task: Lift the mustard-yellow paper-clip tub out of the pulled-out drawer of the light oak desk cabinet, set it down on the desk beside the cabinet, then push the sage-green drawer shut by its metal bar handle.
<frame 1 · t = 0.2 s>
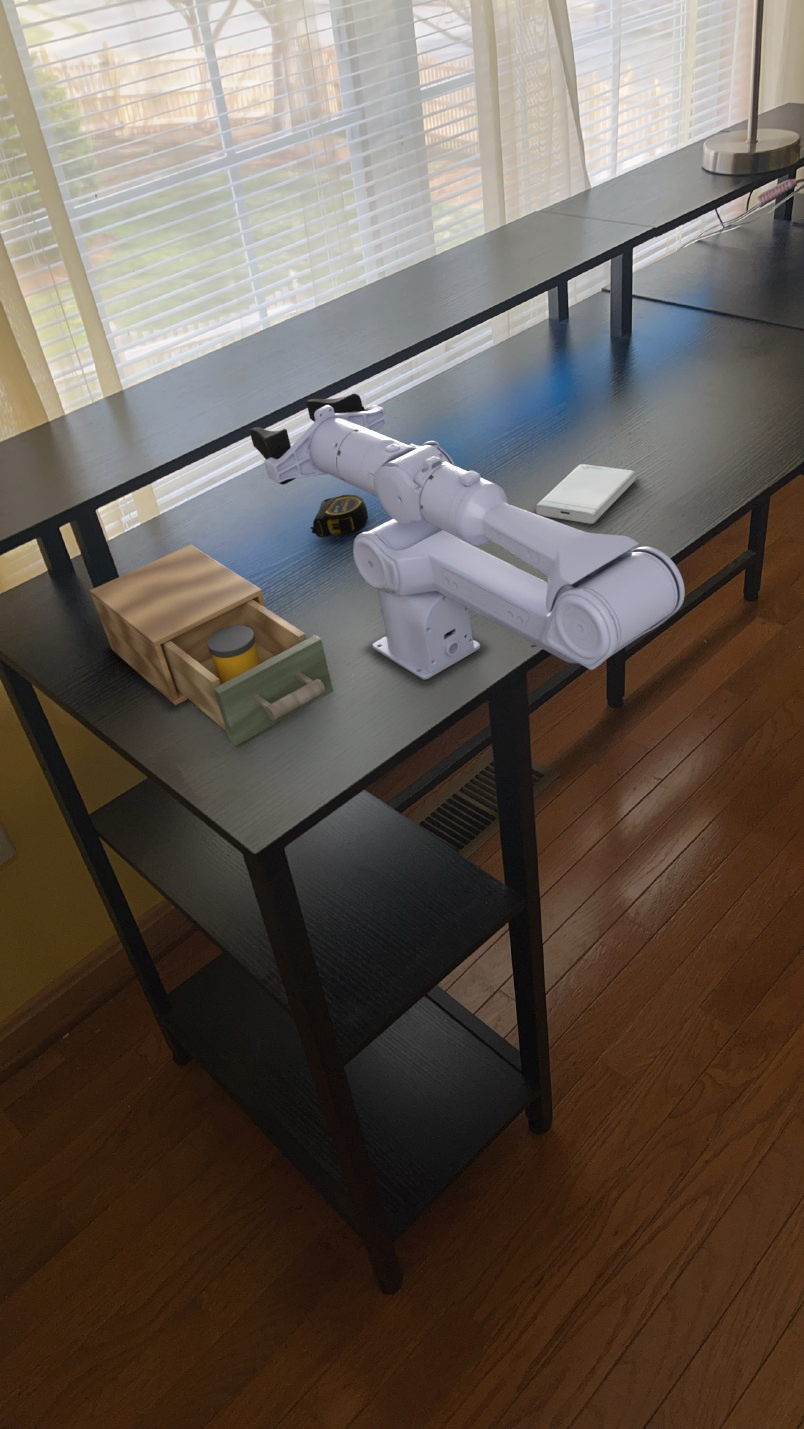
hand: (282, 422, 113), 21 cm above the table, tool horizontal, fingers open, 7 cm apart
cabinet: (193, 650, 119), on the table
tape measure: (339, 532, 138), on the table
clip tub: (242, 678, 110), point 2 cm above the table, touching drawer
drawer: (250, 671, 106), point 4 cm above the table, slide at 11.0 cm, touching clip tub
hard drive: (586, 499, 135), on the table
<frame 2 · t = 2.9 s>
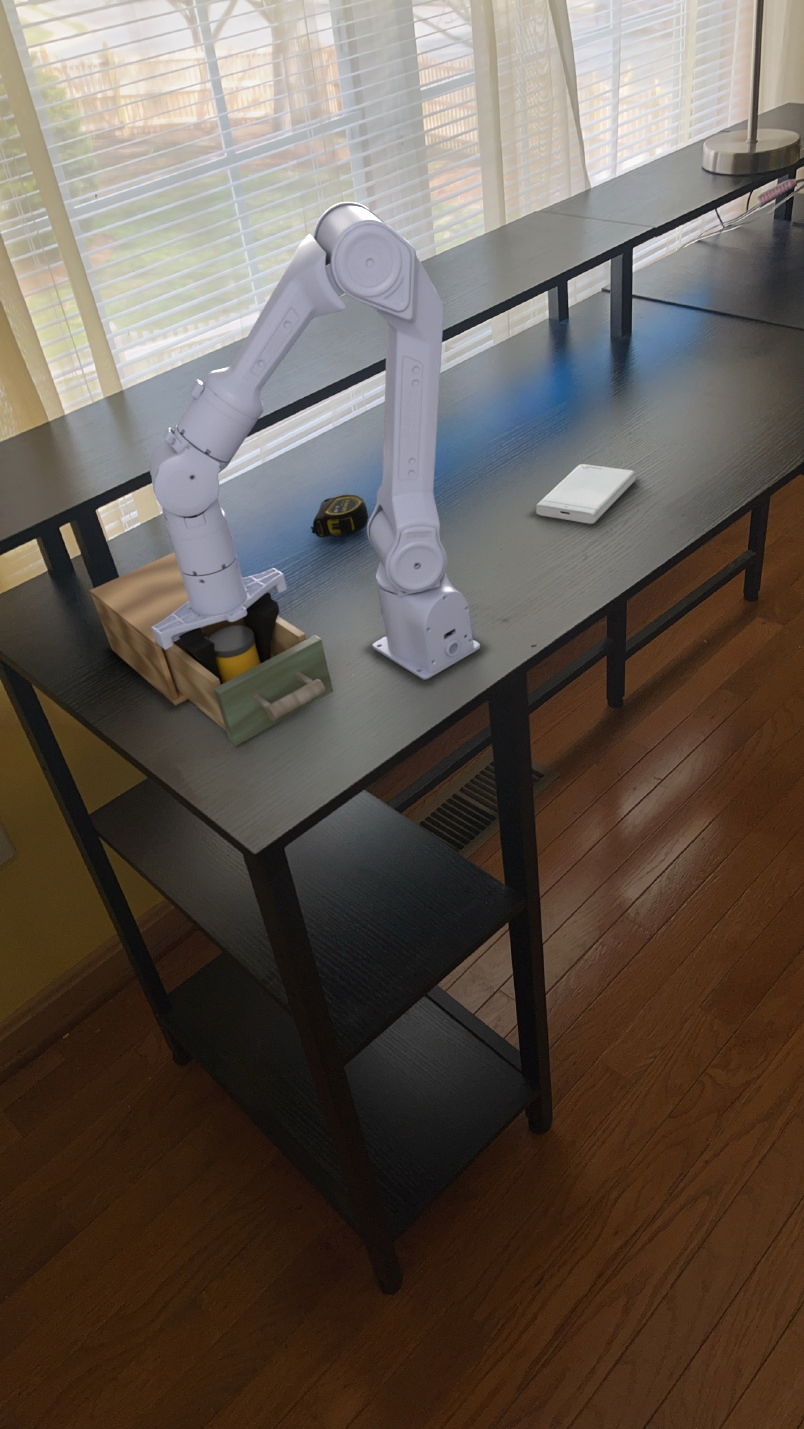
hand: (240, 673, 109), 2 cm above the table, tool pointing down, fingers closed on drawer, 5 cm apart
drawer: (250, 671, 106), point 4 cm above the table, slide at 11.0 cm, touching clip tub, gripper
everything else where it was.
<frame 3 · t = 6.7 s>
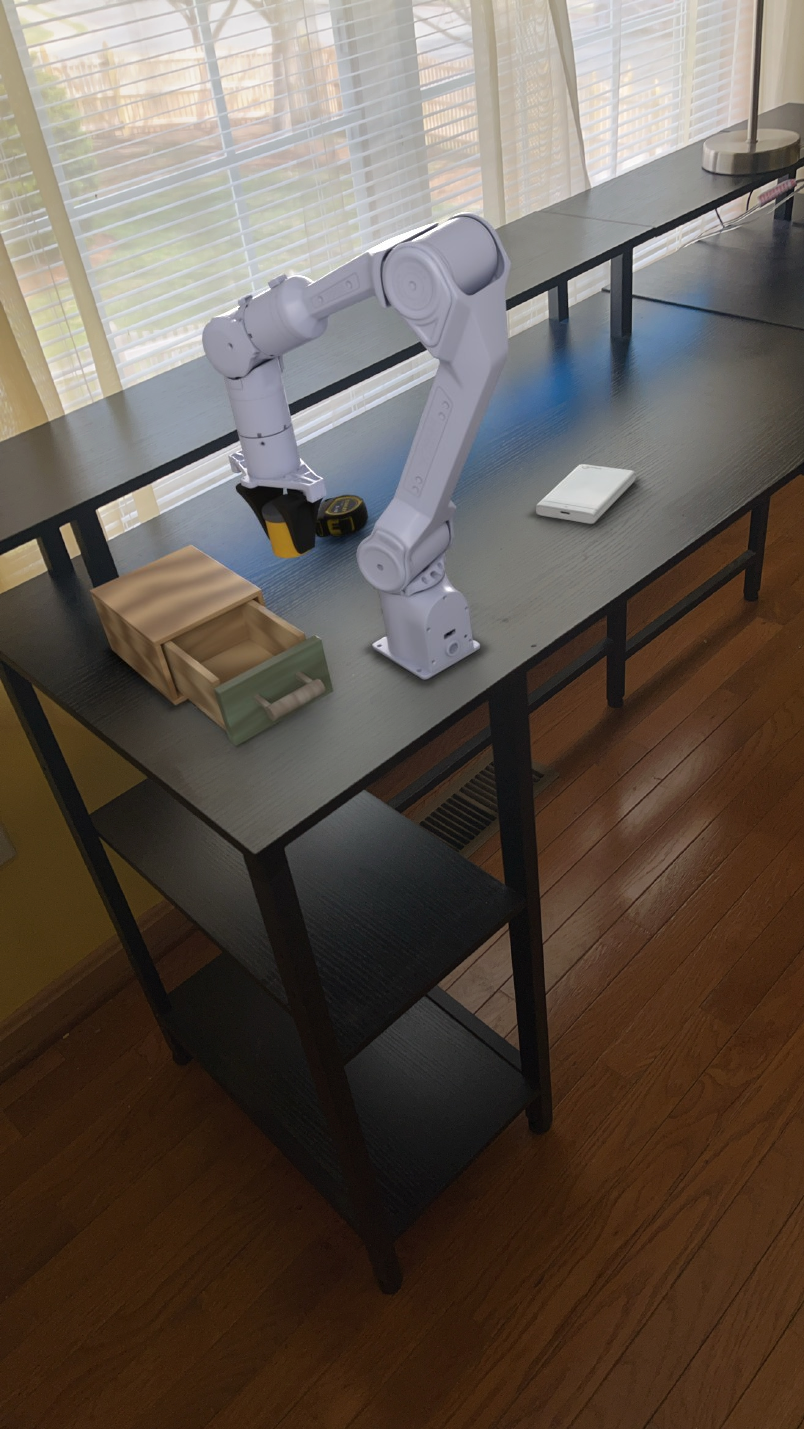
hand: (291, 543, 115), 10 cm above the table, tool pointing down, fingers closed on clip tub, 5 cm apart
clip tub: (293, 548, 115), point 9 cm above the table, touching gripper
drawer: (250, 671, 106), point 4 cm above the table, slide at 11.0 cm
everything else where it was.
when the fingers open (1 cm above the table, at t = 10.0 s): clip tub stays where it is, on the table.
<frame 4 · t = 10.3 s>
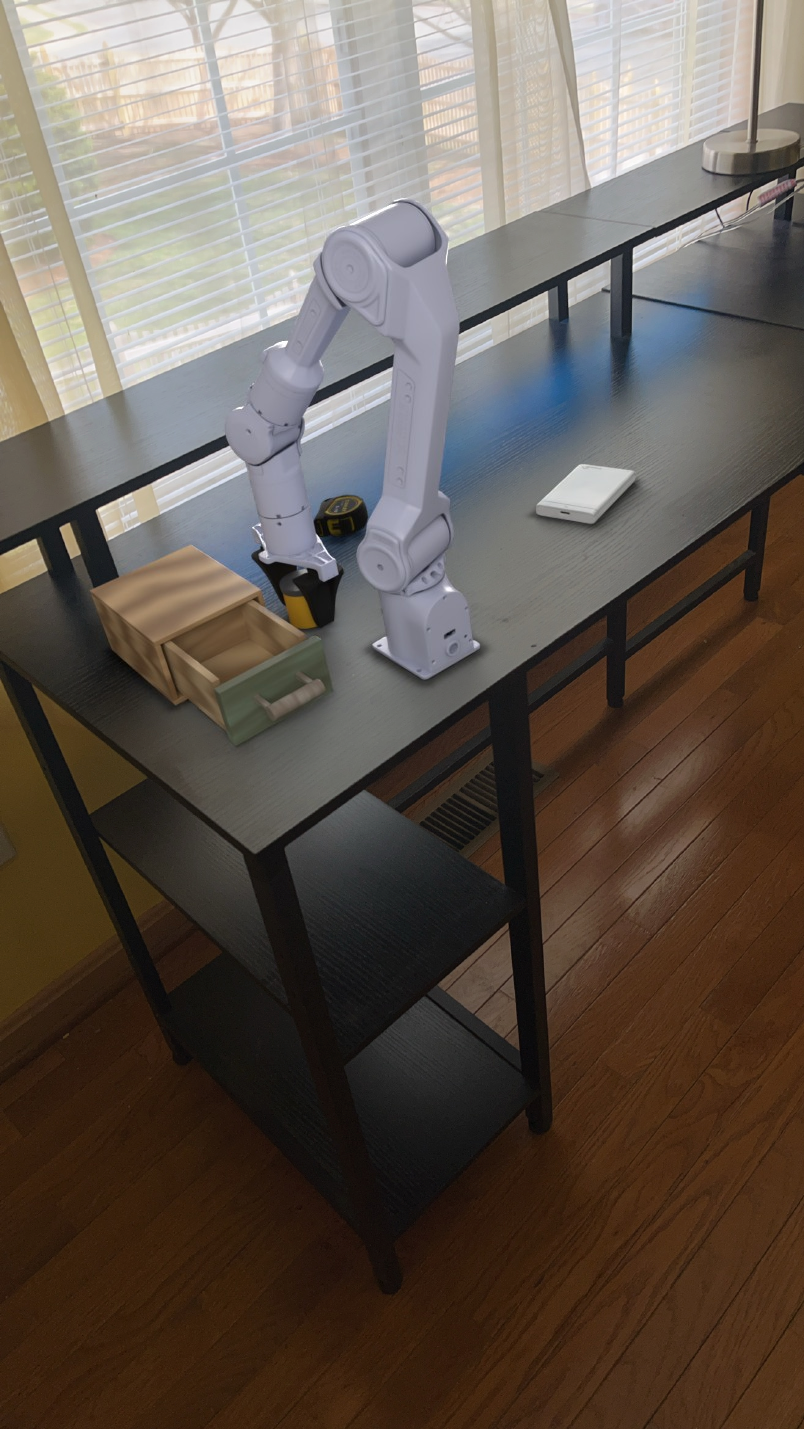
hand: (307, 612, 120), 1 cm above the table, tool pointing down, fingers open, 7 cm apart
clip tub: (309, 618, 121), on the table
everything else where it was.
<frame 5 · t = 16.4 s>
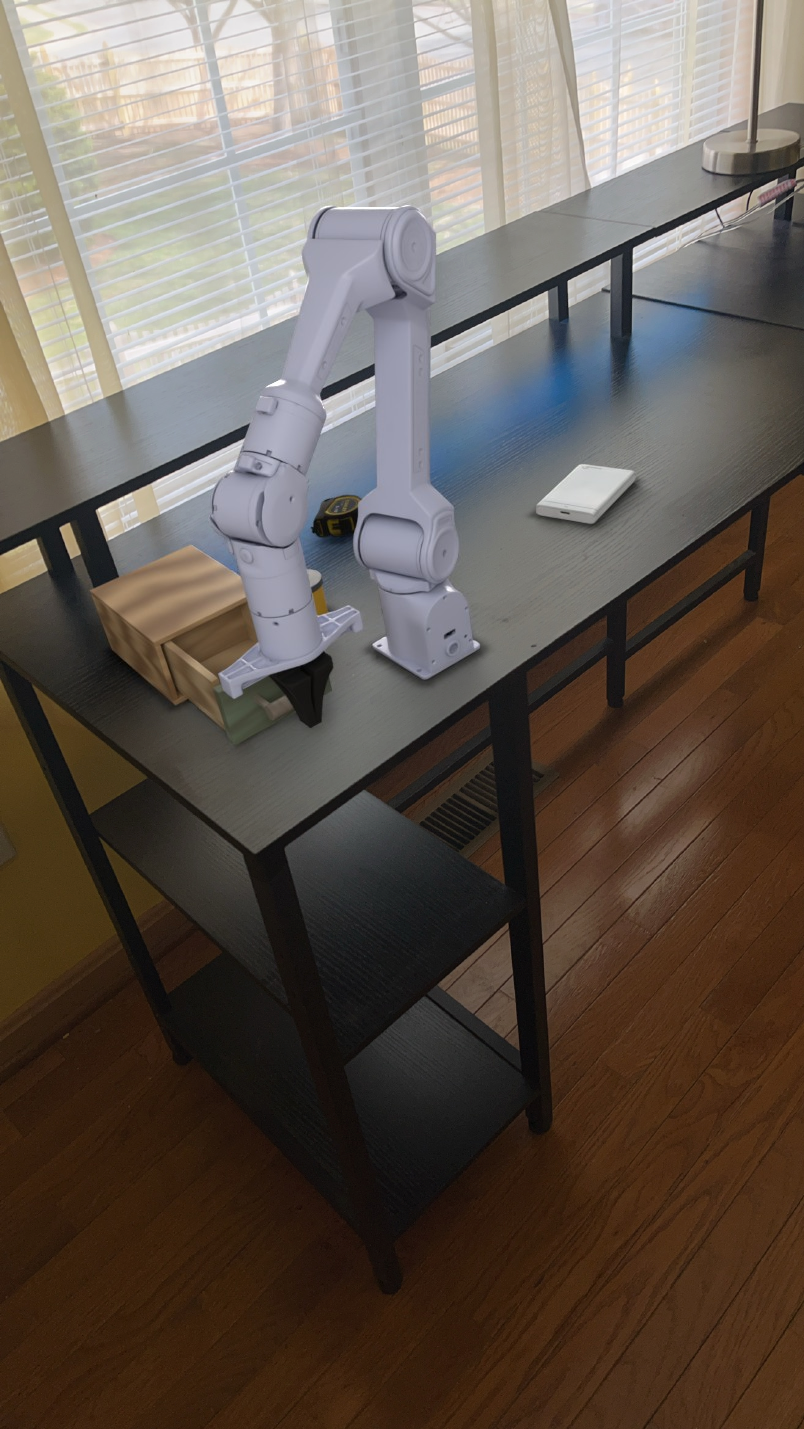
hand: (310, 720, 99), 3 cm above the table, tool pointing down, fingers closed, pressing on drawer
drawer: (249, 670, 106), point 4 cm above the table, slide at 10.9 cm, touching gripper
everything else where it was.
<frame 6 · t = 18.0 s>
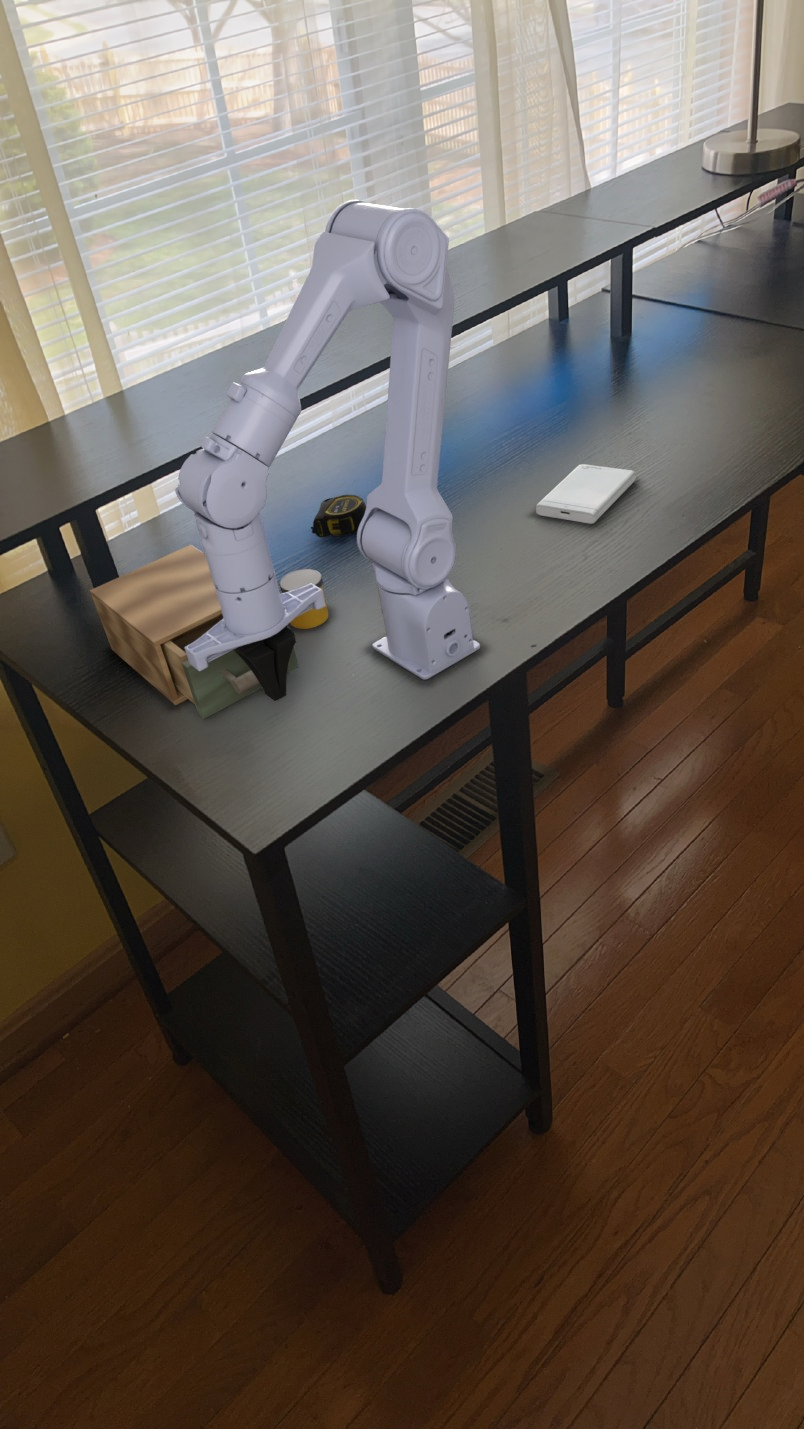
hand: (275, 694, 104), 3 cm above the table, tool pointing down, fingers closed, pressing on drawer
drawer: (219, 647, 111), point 4 cm above the table, slide at 4.5 cm, touching gripper
everything else where it was.
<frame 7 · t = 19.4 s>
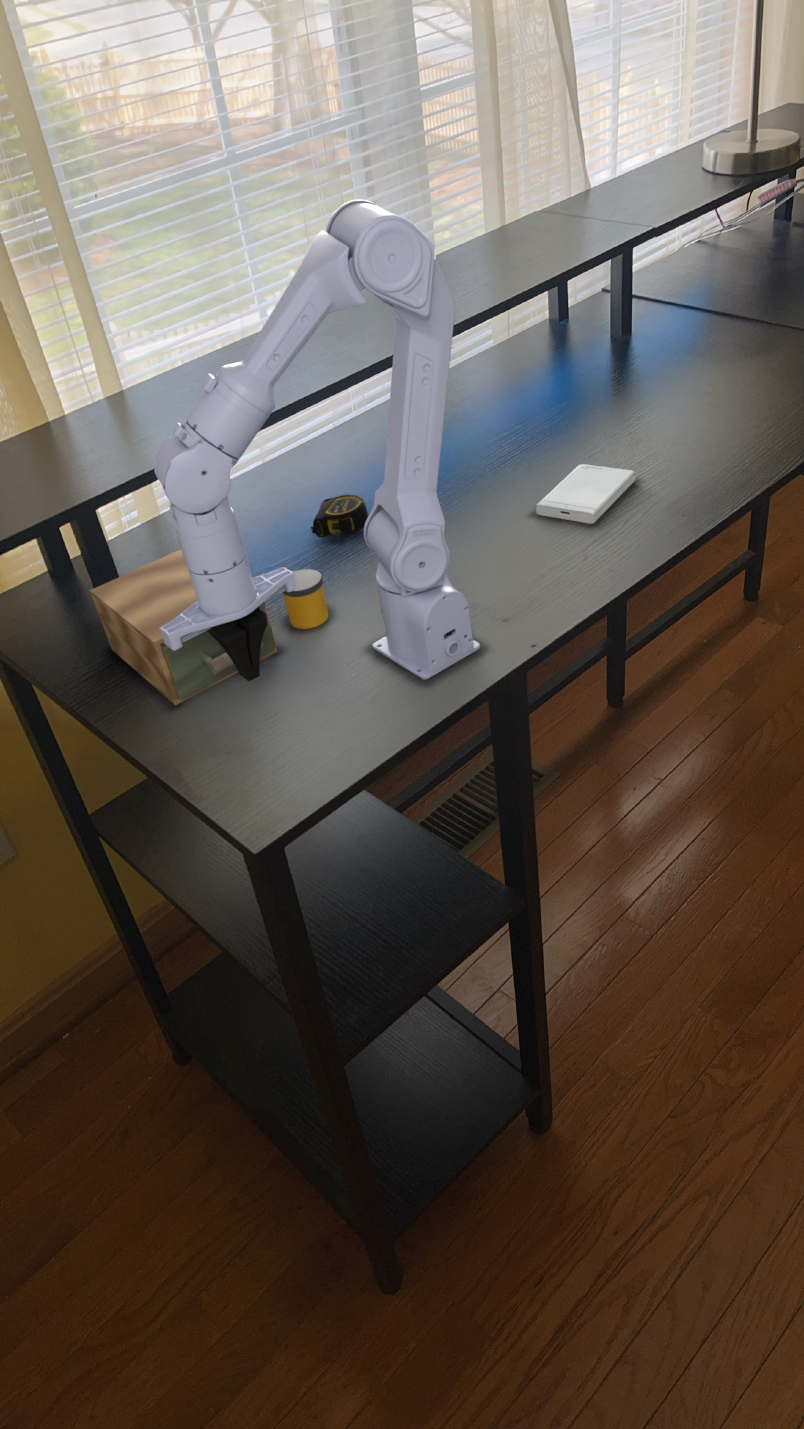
hand: (249, 675, 107), 3 cm above the table, tool pointing down, fingers closed, pressing on drawer
drawer: (197, 631, 114), point 4 cm above the table, slide at -0.5 cm, touching gripper
everything else where it was.
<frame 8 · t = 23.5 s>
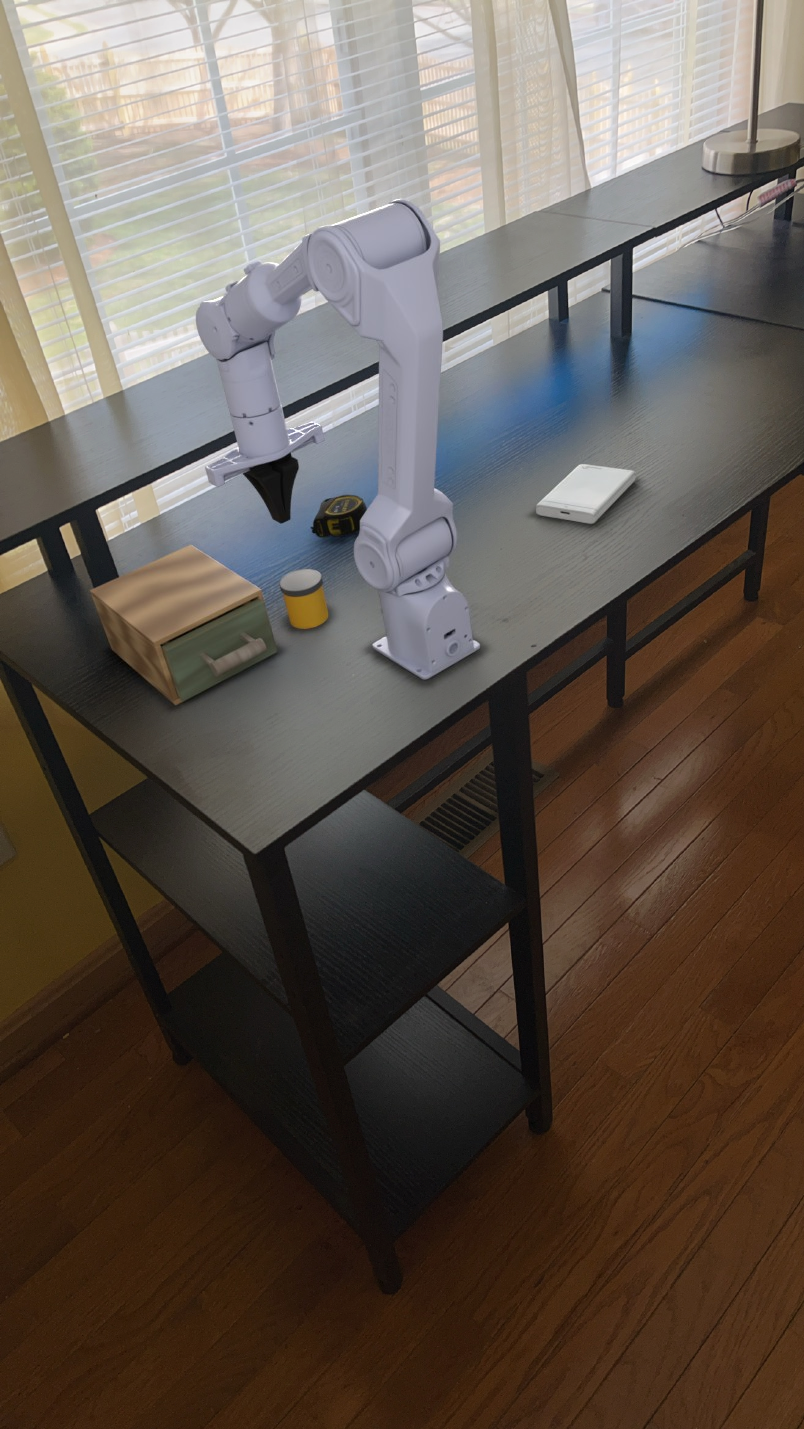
hand: (281, 519, 121), 9 cm above the table, tool pointing down, fingers closed
drawer: (199, 632, 114), point 4 cm above the table, slide at 0.0 cm
everything else where it was.
at the end: clip tub inside the target area (0.0 cm from its centre), on the table; clip tub tilted 0°; drawer slide at 0.0 cm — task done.
